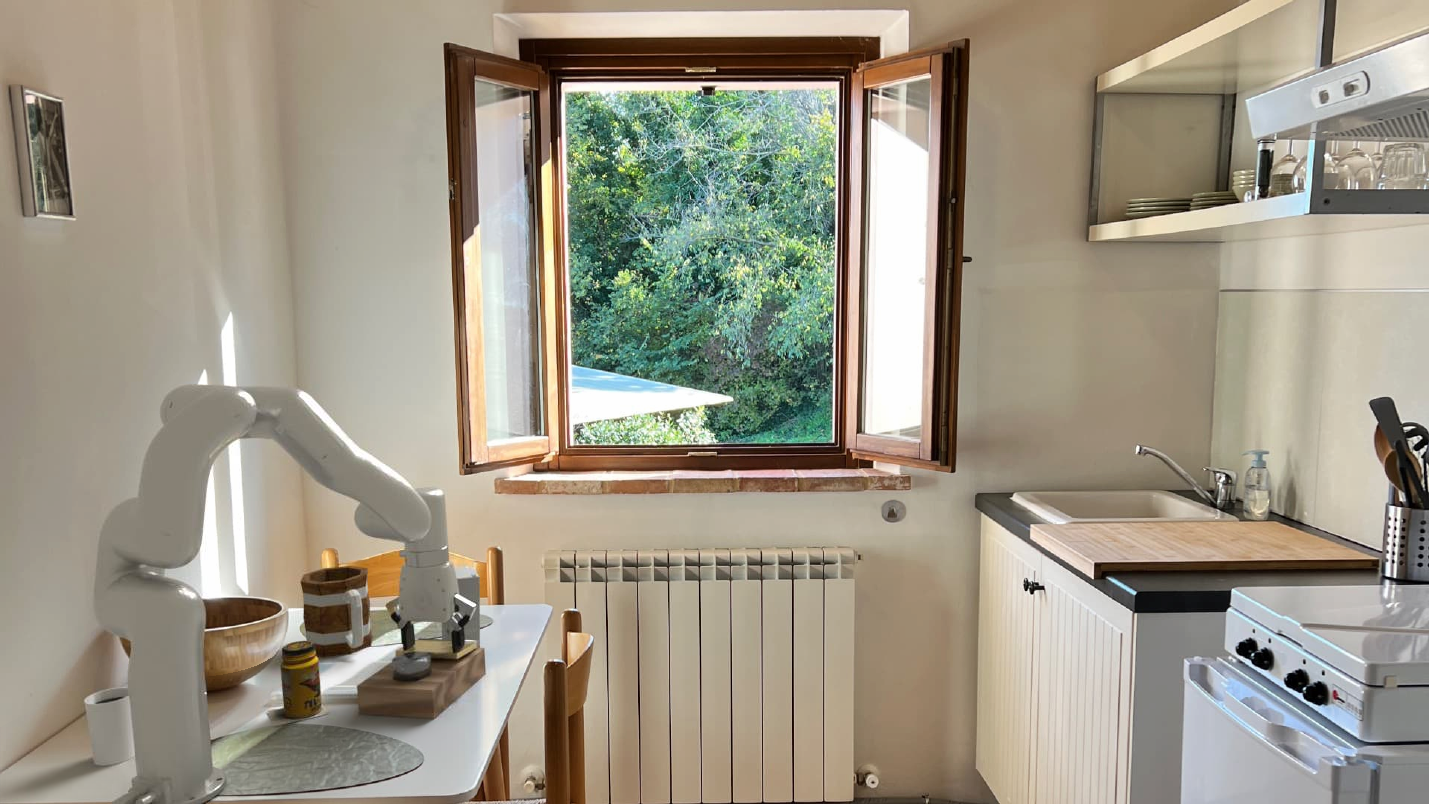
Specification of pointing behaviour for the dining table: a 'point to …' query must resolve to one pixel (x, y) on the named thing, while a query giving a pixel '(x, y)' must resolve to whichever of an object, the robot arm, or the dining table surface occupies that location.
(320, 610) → the mug
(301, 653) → the condiment
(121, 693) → the white cup
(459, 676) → the block
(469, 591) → the skincare box
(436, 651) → the brass keeper
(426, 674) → the steel pin
